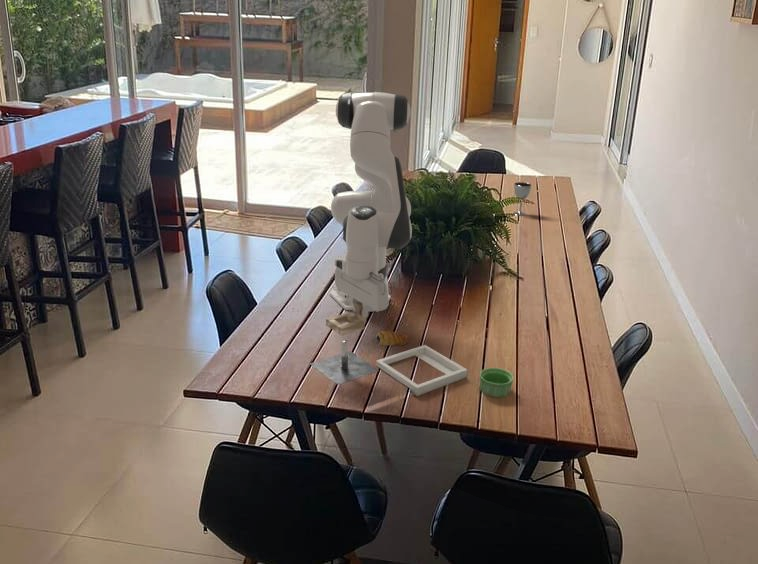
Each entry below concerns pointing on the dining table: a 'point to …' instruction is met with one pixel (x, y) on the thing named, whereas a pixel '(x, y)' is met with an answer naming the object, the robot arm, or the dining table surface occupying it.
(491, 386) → the ramekin
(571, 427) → the dining table surface
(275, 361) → the dining table surface
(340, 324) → the ring
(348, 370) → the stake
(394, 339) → the pastry
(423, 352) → the tray
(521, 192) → the wine glass
